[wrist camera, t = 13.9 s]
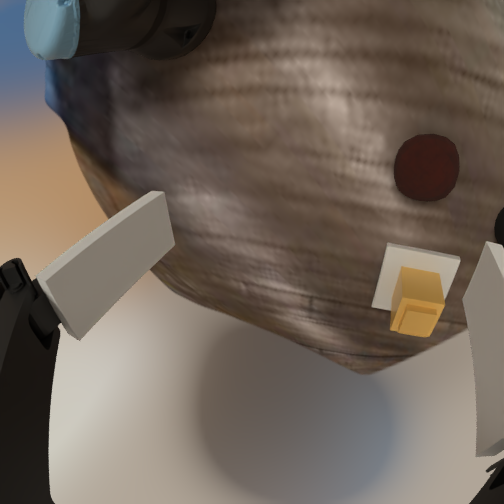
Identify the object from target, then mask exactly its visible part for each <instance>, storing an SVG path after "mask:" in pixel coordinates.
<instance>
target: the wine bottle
mask: <svg viewBox="0 0 504 504" xmlns="http://www.w3.org/2000/svg"><path fill="white" fill-rule="evenodd" d="M495 236H496V238H497V241H498V243H499V244H500V245H502V246H503V248H504V208H503V209H502V210H501V211H500V213H499V214H498V217H497V219H496V222H495Z"/></svg>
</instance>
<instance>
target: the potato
mask: <svg viewBox="0 0 504 504" xmlns="http://www.w3.org/2000/svg"><path fill="white" fill-rule="evenodd" d="M458 174H459V155H458V152H457V149H456V146H455V144H454V143H453V142H451V141H450V140H449V139H448V138H446V137H443V136H439V135H436V134H424V135H417V136H415V137H413V138H411V139H409V140H407V141H405V142H404V144H403V145H402V146H401V148H400V149H399V150H398V153H397V156H396V159H395V165H394V178H395V182H396V186H397V187H398V189H399V191H400V192H401V193H403V194H404V195H405V196H407V197H409V198H411V199H415V200H419V201H436V200H439V199H442V198H445V197H446V196H447V195H448V194H449V193H450V192H451V191H452V189H453V188H454V187H455V184H456V180H457V177H458Z"/></svg>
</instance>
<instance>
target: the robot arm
mask: <svg viewBox="0 0 504 504" xmlns="http://www.w3.org/2000/svg"><path fill="white" fill-rule="evenodd" d="M215 10H216V3H215V0H27V2H26V6H25V13H24V32H25V38H26V42H27V45H28V47H29V49H30V51H31V52H32V54H33V55H34V56H36V57H37V58H39V59H42V60H52V59H59V58H63V59H69V58H72V57H78V56H84V55H90V54H97V53H105V52H113V51H123V50H128V51H131V52H133V53H136V54H138V55H141V56H143V57H146V58H149V59H154V60H167V59H175V58H178V57H181V56H183V55H185V54H187V53H189V52H190V51H192V50H193V49H194V48H196V47H197V46H198V45H199V44H200V43H201V42H202V41H203V39H204V38H205V37H206V35H207V34H208V32H209V30H210V28H211V26H212V23H213V20H214V17H215ZM174 245H175V242H174V237H173V232H172V228H171V223H170V218H169V213H168V208H167V203H166V198H165V192H160V191H151V192H149V193H148V194H146V195H144V196H143V197H141V198H140V199H138V200H137V201H135V202H134V203H132V204H131V205H129V206H128V207H126V208H125V209H123V210H122V211H120V212H119V213H117V214H116V215H114V216H113V217H111V218H110V219H109V220H107V221H106V222H104V223H103V224H102V225H100V226H99V227H97V228H96V229H95V230H93V231H92V232H90V233H89V234H88V235H86V236H85V237H84V238H82V239H81V240H80V241H78V242H77V243H76V244H74V245H73V246H72V247H70V248H69V249H68V250H67V251H65V252H64V253H63V254H61V255H60V256H59V257H58V258H56V259H55V260H54V261H53V262H52V263H50V264H49V265H48V266H47V267H46V268H44V269H43V270H42V271H41V272H39V273H38V274H37V275H36V279H34V280H33V281H31V279H30V277H29V275H28V273H27V271H26V269H25V267H24V265H23V263H22V260H21V259H20V258H14V259H12V260H9V261H7V262H6V263H4V264H3V265H2V266H1V267H0V504H55V503H54V502H53V501H52V498H51V495H50V485H49V459H48V458H49V457H48V447H49V419H50V405H51V393H52V384H53V376H54V369H55V362H56V356H57V350H58V344H59V339H60V330H59V328H58V325H59V324H60V323H62V325H63V326H64V328H65V329H66V331H67V333H68V334H70V335H71V336H73V337H74V338H76V339H77V340H79V341H80V340H81V338H83V337H84V335H85V334H86V333H87V332H88V331H89V330H90V329H91V328H92V327H93V326H94V325H95V324H96V323H97V322H98V321H99V320H100V319H101V317H102V316H103V315H104V314H105V313H106V312H107V311H108V310H109V309H110V308H111V307H112V306H113V305H114V304H115V303H116V302H117V301H118V300H119V299H120V298H121V297H122V296H123V295H124V294H125V293H126V292H127V291H128V290H129V289H130V288H131V287H132V286H133V285H134V284H135V283H136V282H137V281H138V280H139V279H140V278H141V277H142V276H143V275H144V274H145V273H146V272H147V271H148V270H149V269H150V268H151V267H152V266H153V265H154V264H155V263H157V262H158V261H159V260H160V259H161V258H162V257H163V256H164V255H165V254H166V253H167V252H168V251H169V250H170V249H171V248H172V247H173V246H174ZM462 300H463V305H464V309H465V314H466V319H467V325H468V330H469V336H470V343H471V349H472V357H473V366H474V376H475V389H476V408H477V409H476V410H477V438H476V440H477V441H476V457H480V456H494V455H497V454H498V453H500V452H501V451H502V450H504V248H503V246H502V245H500V244H496V243H492V242H488V241H486V243H485V246H484V249H483V252H482V254H481V257H480V260H479V262H478V265H477V267H476V270H475V272H474V274H473V277H472V279H471V281H470V284H469V286H468V288H467V290H466V293H465V295H464V297H463V299H462ZM495 468H496V469H495ZM493 469H495V471H494V472H493V473H492V474H491V475H490V478H489V479H488V480H487V482H486V483H485V485H484V486H483V487H482V488H481V490H480V491H479V493H478V494H477V495H476V496H475V497H474V499H473V500H472V501H471V502H470V503H469V504H504V458H503V459H501V460H500V461H498V462H496V463H495V464H493V465H491V466H490V467H489V468H488V469H487V470H486V472H489V471H491V470H493Z"/></svg>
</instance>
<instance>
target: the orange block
mask: <svg viewBox="0 0 504 504" xmlns="http://www.w3.org/2000/svg"><path fill="white" fill-rule="evenodd" d="M444 306H445V301H444V295H443V289H442V284H441V279H440V274H439V273H435V272H430V271H425V270H419V269H414V268H409V267H403V266H401V269H400V273H399V276H398V279H397V283H396V286H395V289H394V292H393V295H392V301H391V322H390V330H392V331H398V333H402V334H408V335H414V336H420V337H426V336H428V337H429V336H430V334H431V332H432V331H433V329H434V327H435V325H436V323H437V321H438V319H439V317H440V315H441V312H442V310H443V308H444Z"/></svg>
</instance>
